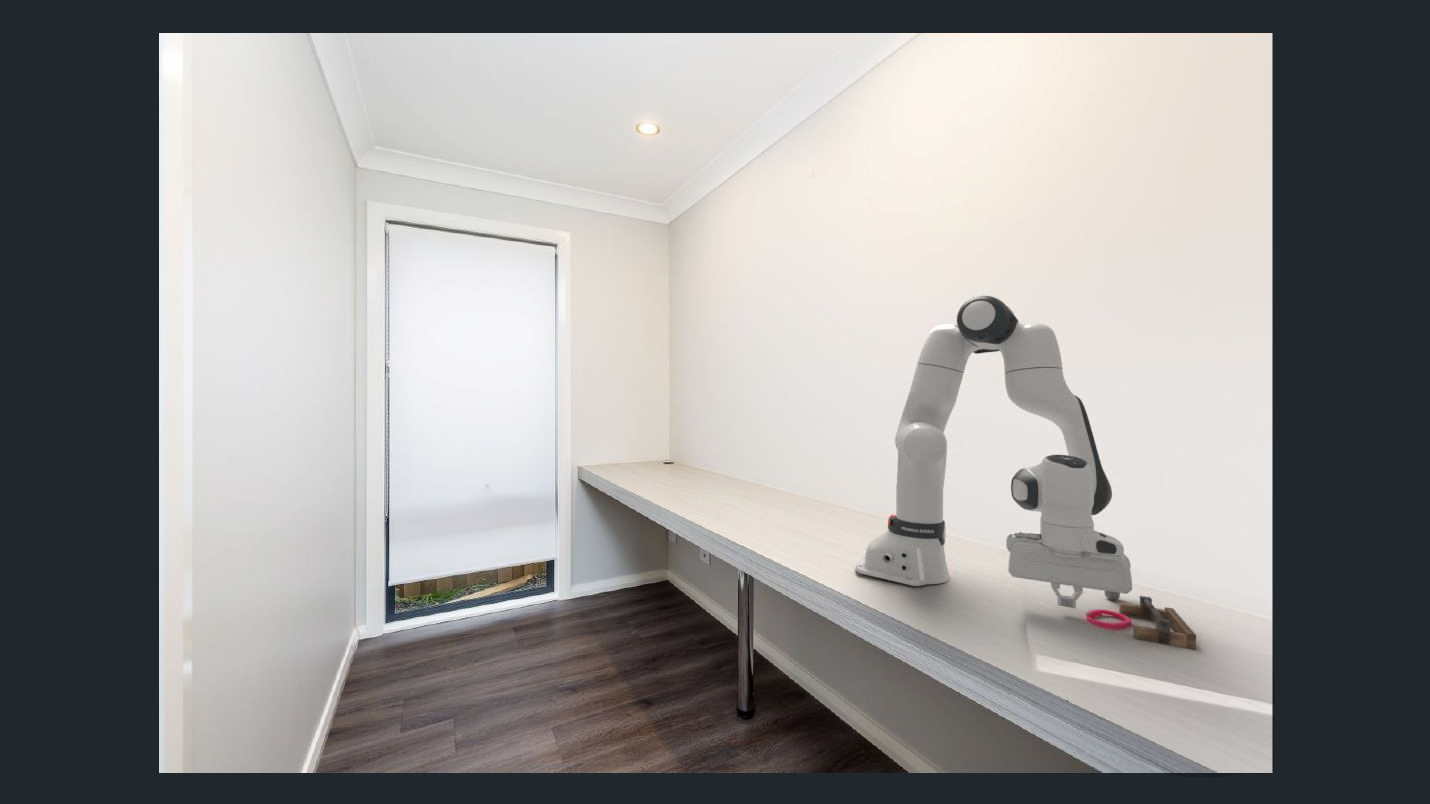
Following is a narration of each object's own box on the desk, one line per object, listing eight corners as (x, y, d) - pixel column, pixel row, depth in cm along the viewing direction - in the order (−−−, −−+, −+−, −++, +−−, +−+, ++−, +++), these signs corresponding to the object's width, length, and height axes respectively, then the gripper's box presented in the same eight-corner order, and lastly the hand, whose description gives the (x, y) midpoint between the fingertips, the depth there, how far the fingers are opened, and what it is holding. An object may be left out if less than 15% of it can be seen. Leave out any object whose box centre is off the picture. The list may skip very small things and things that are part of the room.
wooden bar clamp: (1134, 638, 90) (1135, 616, 90) (1119, 612, 101) (1119, 592, 101) (1196, 649, 86) (1196, 626, 86) (1172, 621, 97) (1172, 600, 97)
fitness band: (1104, 614, 101) (1104, 606, 101) (1138, 626, 96) (1138, 618, 96) (1079, 621, 98) (1079, 613, 98) (1112, 633, 93) (1112, 625, 93)
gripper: (1006, 534, 103) (1006, 601, 102) (1134, 548, 92) (1134, 623, 92) (1006, 527, 108) (1006, 591, 108) (1126, 540, 98) (1126, 610, 98)
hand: (1066, 606), depth 100 cm, fingers closed
